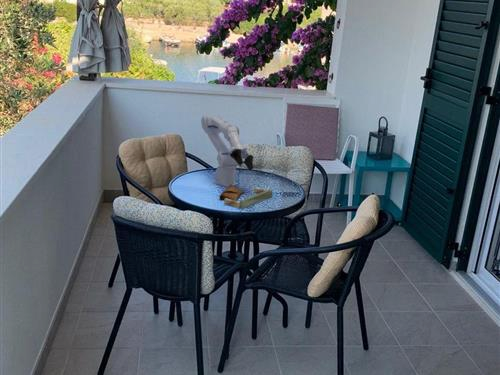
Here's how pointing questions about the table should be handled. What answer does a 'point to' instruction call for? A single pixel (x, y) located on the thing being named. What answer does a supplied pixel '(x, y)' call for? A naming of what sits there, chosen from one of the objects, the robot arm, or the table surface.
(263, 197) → the dock
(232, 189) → the sunglasses case
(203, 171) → the table surface
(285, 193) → the table surface
